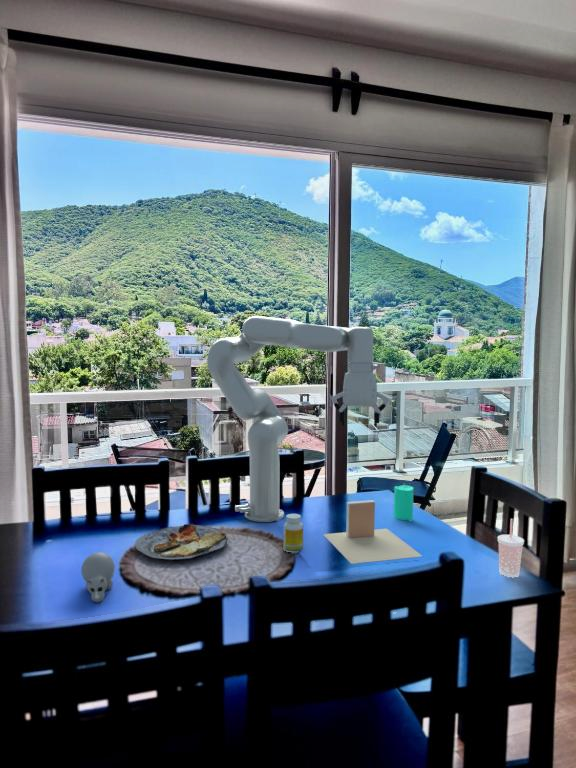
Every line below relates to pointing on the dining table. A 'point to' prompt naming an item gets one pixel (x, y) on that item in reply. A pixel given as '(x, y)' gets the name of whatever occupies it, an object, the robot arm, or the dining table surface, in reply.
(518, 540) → the beverage cup
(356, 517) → the tile
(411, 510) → the candle
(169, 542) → the food plate
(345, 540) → the cork mat
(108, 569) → the round bodied animal figurine
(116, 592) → the dining table surface
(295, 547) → the supplement bottle
